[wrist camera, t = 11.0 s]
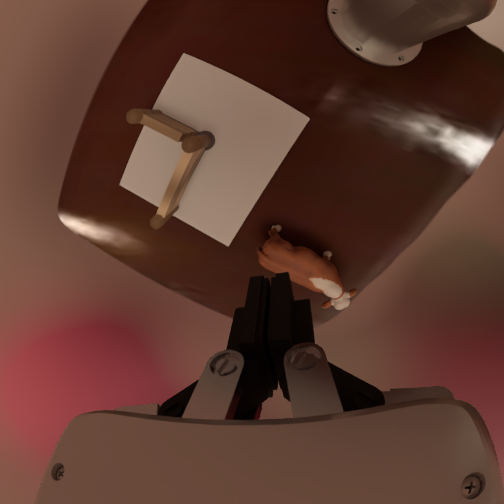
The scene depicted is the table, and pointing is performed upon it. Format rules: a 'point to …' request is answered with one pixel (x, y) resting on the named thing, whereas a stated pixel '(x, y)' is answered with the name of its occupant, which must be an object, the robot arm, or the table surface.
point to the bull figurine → (304, 268)
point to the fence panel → (180, 178)
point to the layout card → (215, 146)
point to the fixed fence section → (160, 123)
